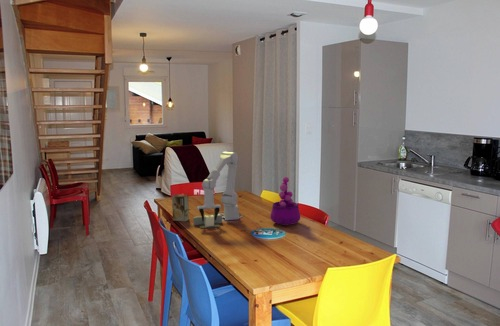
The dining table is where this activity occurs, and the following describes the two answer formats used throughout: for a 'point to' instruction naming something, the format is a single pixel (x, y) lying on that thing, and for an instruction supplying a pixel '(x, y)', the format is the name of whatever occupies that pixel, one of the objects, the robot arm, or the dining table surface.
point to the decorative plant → (285, 207)
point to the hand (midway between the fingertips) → (209, 220)
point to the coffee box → (180, 207)
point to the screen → (199, 221)
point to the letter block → (209, 220)
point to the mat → (209, 226)
